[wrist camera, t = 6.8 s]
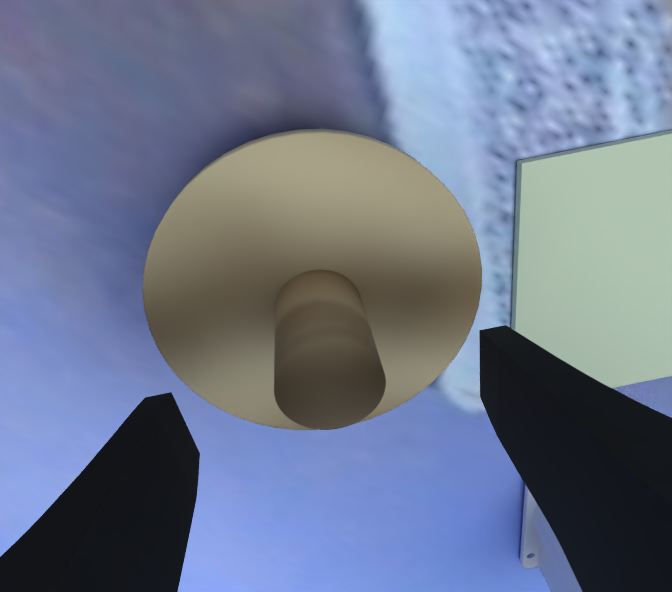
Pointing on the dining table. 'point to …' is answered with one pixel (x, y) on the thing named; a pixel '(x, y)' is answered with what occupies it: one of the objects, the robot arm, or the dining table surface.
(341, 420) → the lid
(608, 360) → the mat
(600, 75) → the dining table surface
